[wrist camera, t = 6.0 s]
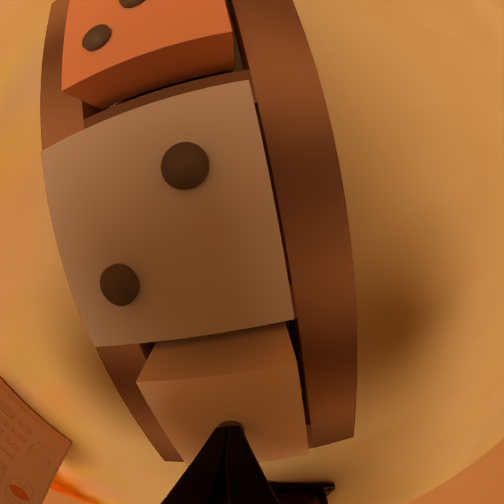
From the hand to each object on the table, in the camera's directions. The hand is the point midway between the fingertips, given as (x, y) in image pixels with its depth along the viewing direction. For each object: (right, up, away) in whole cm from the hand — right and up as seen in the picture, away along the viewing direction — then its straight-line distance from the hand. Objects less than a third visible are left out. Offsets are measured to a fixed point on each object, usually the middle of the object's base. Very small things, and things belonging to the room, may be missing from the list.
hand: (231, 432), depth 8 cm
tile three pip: (-3, +14, -1) cm, 14 cm away
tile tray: (-1, +8, +2) cm, 8 cm away
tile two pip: (-1, +7, 0) cm, 7 cm away
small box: (-18, -8, +6) cm, 20 cm away
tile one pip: (0, +1, +3) cm, 3 cm away
